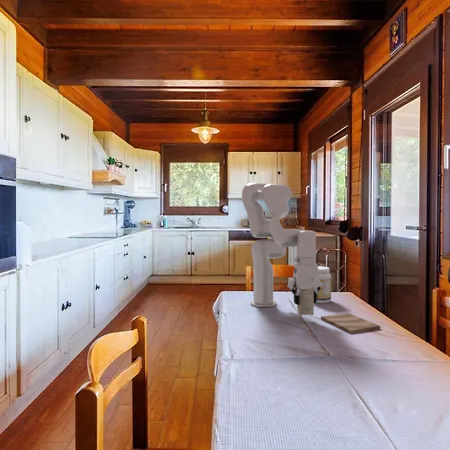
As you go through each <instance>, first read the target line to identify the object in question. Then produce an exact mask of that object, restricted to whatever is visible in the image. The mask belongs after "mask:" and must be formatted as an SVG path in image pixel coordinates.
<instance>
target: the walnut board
mask: <svg viewBox="0 0 450 450" xmlns="http://www.w3.org/2000/svg"><path fill="white" fill-rule="evenodd" d="M320 320H321V321H323V322H325V323H328V324H330V325H332V326H333V327H336V328H338V329H339V330H342V331H344V332H346V333H348V334H350V335H352V334H357V333H362V332H363V333H364V332H369V331H370V330H371V331H375V329H378V330H381V325H379V324H377V323H374V322H372V321H369V320H366V319H364V318H362V317H359V316H357V315H354V314H352V313H349V312H346V313H337V314H331V315H329V314H328V315H324V316H323V315H321V316H320ZM371 331H370V332H371Z"/></svg>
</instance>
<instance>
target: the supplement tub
mask: <svg viewBox="0 0 450 450" xmlns="http://www.w3.org/2000/svg"><path fill="white" fill-rule="evenodd" d="M317 266H318V271H319V280H320V281H321V282H322V283H323V285H322V287H321V289H320V290H319V291H318V294H317V300H316V303H315V304H327V303H330V302H331V301H332V274H331V273H330V272H331V271H330V267H327V266H323V265H317Z"/></svg>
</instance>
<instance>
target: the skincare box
mask: <svg viewBox="0 0 450 450" xmlns="http://www.w3.org/2000/svg"><path fill="white" fill-rule="evenodd" d="M299 296H300V305H297V314H298V315H299V316H314V315H315V313H314V311H315V310H314V304H315V303H314V286H312V288H311V289H305V290H300V292H299Z"/></svg>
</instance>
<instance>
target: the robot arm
mask: <svg viewBox="0 0 450 450" xmlns="http://www.w3.org/2000/svg"><path fill="white" fill-rule="evenodd" d="M291 198H292V190H291V188H290V187H289V186H288V185H287V184H276V183H266V182H265V183H263V182H262V183H261V182H250V183H248V184H245V185H244V186H243V188H242V191H241V200H242V201H241V202H242V204H243V206H244V210H245V211H246V215H247V219H248V220H247V221H248V226H249V230H250V233H251V236H252V237H253V238H257V239H258V240H255V241H254V242H253V243H252V245H251V248H250V250H251V256H252V261H253V262H252V264H253V267H252V268H253V294H252V295H253V299H251V301H250V305H251V306H254V307H257V308H258V307H259V308H271V307H275V306H277V301H276V300H274V267H273V264H272V263H271V261H270V260H271V259H279V258H280V259H281V258H283V257H284V256H285V255H286V252H287V248H292V247H293V248H294V247H295V248H296V257H295V258H294V259H293V261H294V262H295V264H294V269H293V275H292V280H291V282H289V283H288V284H287V288H288V289H289V291H290V292H291V293H292V294H293V303H294V304H295V305H300V296H299V292H300V290H305V289H311V288H312V286H314V304H317V303H316V300H317V294H318V291H319V290H320V289H321V287H322V285H323V283H322V282H321V281H320V280H319V271H318V266H319V265H318V263H316V252H317V250H316V248H317V246H316V245H317V235H316V232H315V230H310V229H309V230H308V229H307V230H305V229H302V228H283V226H282V223H281V222H280V220H281V219H283V218H284V217H286V216H287V215H288V214H289V213H290V206H289V205H288V202H289V201H290V200H291ZM258 201H264V203H265V205H266V207H267V209H268V210H269V213H270V215H271V218H267V217H266V216H265V215H266V214H265V211H264V208H263V206H262V205H261V204H260V203H259V202H258ZM262 238H263V239H262ZM264 238H268V239H264Z"/></svg>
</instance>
